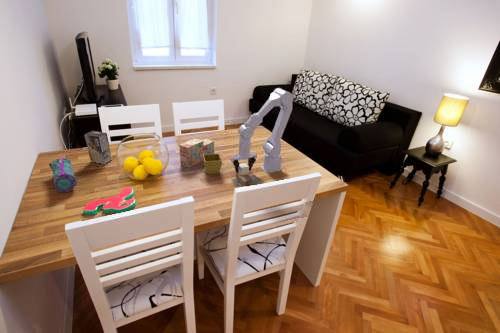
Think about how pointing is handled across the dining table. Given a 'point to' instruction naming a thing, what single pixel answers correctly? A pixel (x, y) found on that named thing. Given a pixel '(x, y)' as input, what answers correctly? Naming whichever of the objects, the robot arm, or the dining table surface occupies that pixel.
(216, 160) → the flower pot
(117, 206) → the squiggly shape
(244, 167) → the top block
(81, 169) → the dining table surface
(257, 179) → the blueprint mat
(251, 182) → the base block
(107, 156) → the coffee box
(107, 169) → the dining table surface
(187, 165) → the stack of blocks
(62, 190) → the pencil case
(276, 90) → the robot arm
